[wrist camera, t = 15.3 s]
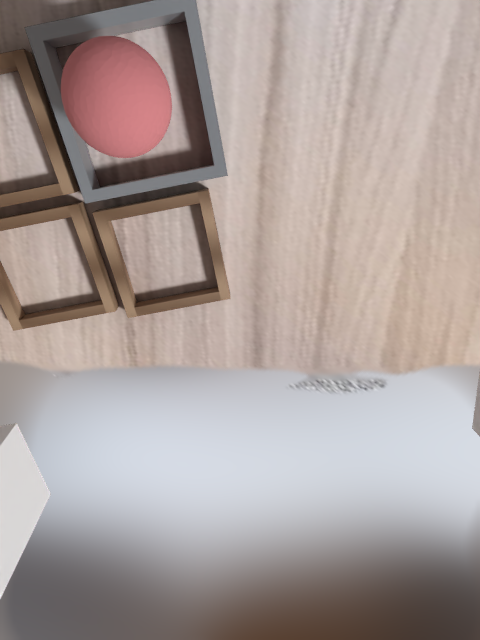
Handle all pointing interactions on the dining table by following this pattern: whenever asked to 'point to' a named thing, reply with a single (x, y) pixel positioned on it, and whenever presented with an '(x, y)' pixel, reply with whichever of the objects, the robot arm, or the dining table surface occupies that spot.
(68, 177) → the frame
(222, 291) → the frame
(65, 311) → the frame
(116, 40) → the light bulb
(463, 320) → the dining table surface
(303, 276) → the dining table surface
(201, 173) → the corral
